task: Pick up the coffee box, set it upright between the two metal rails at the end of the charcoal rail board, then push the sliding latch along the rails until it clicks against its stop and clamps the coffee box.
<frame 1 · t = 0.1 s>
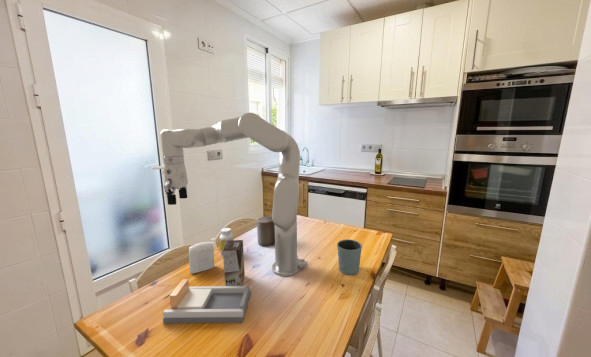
hand: (178, 201, 100), 31 cm above the table, tool pointing down, fingers open, 9 cm apart
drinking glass: (348, 270, 103), on the table
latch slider: (192, 294, 81), point 5 cm above the table, slide at 5.0 cm
supplement bottle: (227, 254, 119), on the table
photo printer: (202, 269, 106), on the table
rail board: (210, 307, 82), on the table
coffee box: (235, 283, 96), on the table
pillar candle: (266, 243, 131), on the table
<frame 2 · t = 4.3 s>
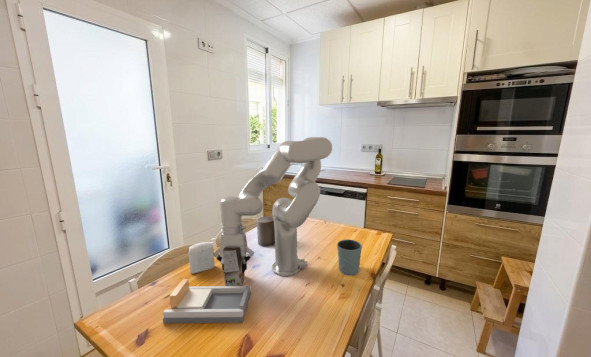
hand: (234, 271, 95), 5 cm above the table, tool pointing down, fingers closed on coffee box, 6 cm apart
coffee box: (235, 282, 96), on the table, touching gripper
everything else where it was.
when the fingers open (9 cm above the table, at t = 11.7 s): coffee box drops 2 cm, resting on rail board.
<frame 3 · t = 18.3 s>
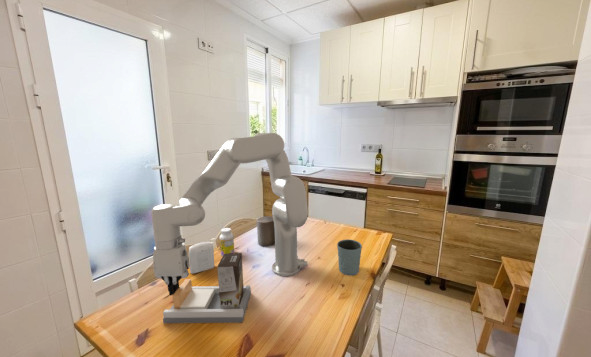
hand: (174, 292, 81), 6 cm above the table, tool pointing down, fingers closed
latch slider: (194, 294, 81), point 5 cm above the table, slide at 4.1 cm, touching gripper
coffee box: (232, 303, 82), point 1 cm above the table, touching rail board
everything else where it was.
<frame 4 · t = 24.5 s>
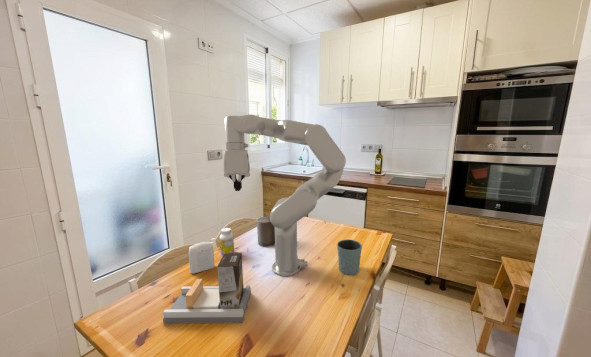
hand: (238, 190, 101), 35 cm above the table, tool pointing down, fingers closed
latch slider: (206, 294, 81), point 5 cm above the table, slide at 0.0 cm
everything else where it was.
at the end: coffee box 0.4 cm from the target spot on the rail board, point 1.3 cm above the rail board's base; coffee box tilted 0°; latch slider slide at 0.0 cm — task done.
